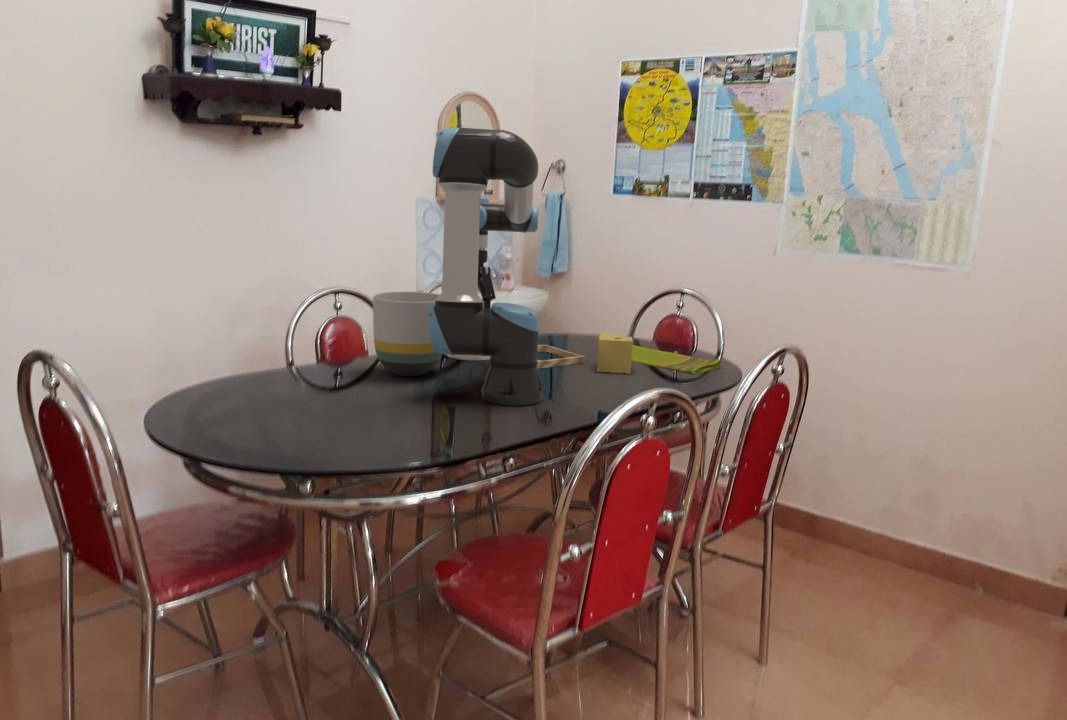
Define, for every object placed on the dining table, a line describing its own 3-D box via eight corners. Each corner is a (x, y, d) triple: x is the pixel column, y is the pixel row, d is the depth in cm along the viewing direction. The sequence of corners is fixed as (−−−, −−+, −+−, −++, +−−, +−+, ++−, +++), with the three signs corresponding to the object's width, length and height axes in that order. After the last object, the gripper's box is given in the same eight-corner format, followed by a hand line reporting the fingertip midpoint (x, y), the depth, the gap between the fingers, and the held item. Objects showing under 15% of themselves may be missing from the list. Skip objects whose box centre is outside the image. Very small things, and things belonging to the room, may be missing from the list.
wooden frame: (536, 368, 241) (536, 362, 241) (498, 355, 257) (498, 349, 257) (584, 363, 252) (585, 356, 251) (545, 350, 267) (545, 344, 267)
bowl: (463, 362, 245) (463, 353, 245) (436, 352, 258) (436, 343, 257) (508, 357, 254) (508, 348, 254) (480, 347, 267) (480, 339, 266)
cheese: (631, 367, 249) (633, 334, 247) (631, 375, 239) (633, 340, 237) (596, 364, 250) (598, 332, 248) (595, 372, 240) (597, 338, 238)
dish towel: (696, 377, 242) (697, 366, 242) (596, 356, 265) (597, 346, 264) (721, 369, 254) (722, 359, 253) (624, 350, 276) (625, 340, 276)
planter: (423, 363, 242) (424, 290, 237) (458, 378, 226) (460, 299, 222) (360, 370, 230) (360, 293, 226) (393, 385, 215) (393, 303, 210)
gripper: (508, 252, 242) (506, 324, 246) (464, 245, 261) (462, 313, 265) (487, 252, 237) (484, 326, 241) (443, 245, 257) (441, 314, 261)
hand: (472, 319), depth 253 cm, fingers open, 13 cm apart
